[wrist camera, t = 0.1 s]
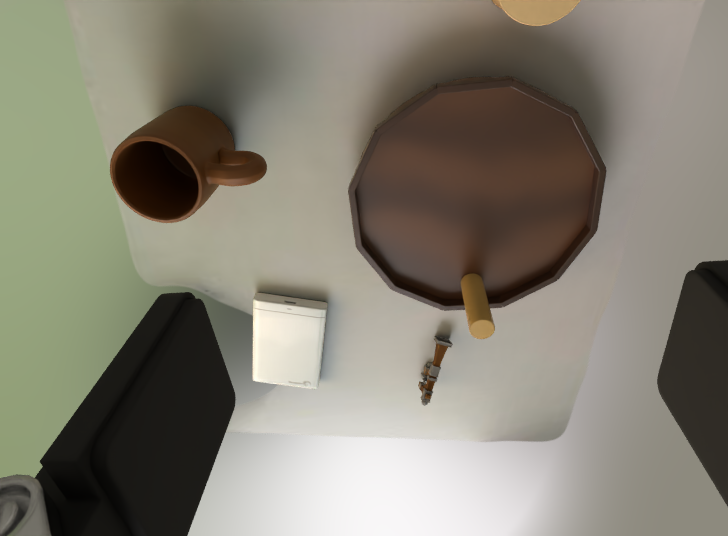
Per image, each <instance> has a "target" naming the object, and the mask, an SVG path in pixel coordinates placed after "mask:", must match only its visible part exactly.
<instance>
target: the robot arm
mask: <svg viewBox="0 0 728 536" xmlns="http://www.w3.org/2000/svg"><path fill="white" fill-rule="evenodd" d="M657 384H658V389H659V392H660V395H661V397H662V399H663V400H664V402H665V403H666V405H667V407H668V408H669V410H670V412H671V413H672V415H673V417H674V418H675V420H676V422H677V423H678V425H679V426H680V428H681V430H682V432H683V433H684V435H685V437H686V438H687V440H688V441H689V443H690V445H691V447H692V448H693V450H694V451H695V453H696V455H697V456H698V458H699V460H700V461H701V463H702V465H703V466H704V468H705V470H706V471H707V473H708V475H709V476H710V478H711V480H712V481H713V483H714V484H715V486H716V488H717V490H718V491H719V493H720V494H721V496H722V498H723V499H724V501H725V503H726V504H727V506H728V260H725V261H709V262H702V263H699V264H698V265H697V266H696V268H695V270H691V271H689V272H688V273H687V274H686V276H685V280H684V283H683V286H682V290H681V294H680V298H679V301H678V305H677V308H676V312H675V315H674V319H673V323H672V327H671V330H670V334H669V338H668V341H667V345H666V348H665V352H664V355H663V359H662V363H661V366H660V370H659V374H658V379H657ZM234 407H235V392H234V389H233V386H232V383H231V380H230V377H229V374H228V371H227V368H226V366H225V363H224V360H223V357H222V354H221V351H220V349H219V345H218V342H217V340H216V337H215V334H214V331H213V328H212V325H211V323H210V319H209V317H208V314H207V311H206V308H205V305H204V303H203V302H202V300H201V299H196V298H195V296H194V295H193V294H192V293H189V292H185V293H167V294H161V295H160V296H159V297H158V298H157V300H156V301H155V302H154V304H153V305H152V306H151V308H150V309H149V311H148V312H147V313H146V315H145V316H144V318H143V319H142V320H141V322H140V323H139V324H138V326H137V327H136V329H135V330H134V331H133V333H132V334H131V336H130V337H129V338H128V340H127V341H126V343H125V344H124V345H123V347H122V348H121V349H120V351H119V352H118V354H117V355H116V356H115V358H114V359H113V361H112V362H111V363H110V365H109V366H108V367H107V369H106V370H105V372H104V373H103V374H102V376H101V377H100V379H99V380H98V381H97V383H96V384H95V386H94V387H93V388H92V390H91V391H90V392H89V394H88V395H87V397H86V398H85V399H84V401H83V402H82V403H81V405H80V406H79V408H78V409H77V410H76V412H75V413H74V415H73V416H72V417H71V419H70V420H69V421H68V423H67V424H66V426H65V427H64V428H63V430H62V431H61V433H60V434H59V435H58V437H57V438H56V440H55V441H54V442H53V444H52V445H51V447H50V448H49V449H48V451H47V452H46V453H45V455H44V456H43V458H42V459H41V460H40V463H41V464H42V466H43V467H42V469H41V470H40V471H39V473H38V474H37V476H36V477H35V478H33V477H31V476H29V475H13V476H8V477H3V478H0V536H187V535H188V532H189V529H190V527H191V524H192V521H193V519H194V516H195V513H196V511H197V508H198V505H199V502H200V500H201V497H202V494H203V492H204V489H205V486H206V483H207V481H208V478H209V476H210V473H211V470H212V467H213V465H214V462H215V459H216V456H217V454H218V451H219V448H220V446H221V443H222V440H223V438H224V435H225V432H226V430H227V427H228V424H229V422H230V419H231V416H232V413H233V411H234Z"/></svg>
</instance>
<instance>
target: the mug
mask: <svg viewBox="0 0 728 536" xmlns="http://www.w3.org/2000/svg"><path fill="white" fill-rule="evenodd" d="M266 170H267V164H266V162H265V160H264V158H263V157H262V156H260V155H259V154H256V153H254V152H250V151H235V146H234V142H233V138H232V136H231V134H230V132H229V130H228V128H227V127H226V125H225V124H224V123H223V122H222V121H221V120H220V119H219V118H218V117H217V116H215V115H214V114H213V113H211V112H209V111H207V110H205V109H203V108H200V107H195V106H180V107H176V108H173V109H171V110H169V111H167V112H165V113H164V114H162V115H161V116H159V117H157V118H155V119H154V120H152V121H151V122H149V123H147V124H146V125H144V126H143V127H141V128H140V129H138V130H136V131H135V132H133V133H132V134H131V135H130V136H128V137H127V138H126V139H125V140H124V141H123V142H122V143H121V144H120V145H119V146H118V147H117V148H116V149H115V151H114V153H113V155H112V158H111V163H110V174H111V179H112V183H113V185H114V188H115V190H116V192H117V194H118V195H119V196H120V198H121V199H122V200H123V202H124V203H125V204H126V205H127V206H128V207H129V208H131V209H132V210H133V211H134V212H136V213H137V214H139V215H141V216H143V217H145V218H147V219H149V220H152V221H156V222H162V223H173V222H179V221H182V220H185V219H186V218H188V217H190V216H191V215H192V214H194V213H195V212H196V211H197V210H198V209H199V208H200V207H201V206H202V205H203V204H204V203H205V202H206V201H207V200H208V198H209V197H210V196H211V195H212V194H213V192H214V191H215V190H216V189H217V187H218V186H219V185H225V186H242V185H248V184H252V183H254V182H256V181H258V180H260V179H261V178H262V177H263V176H264V175H265V173H266Z"/></svg>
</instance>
